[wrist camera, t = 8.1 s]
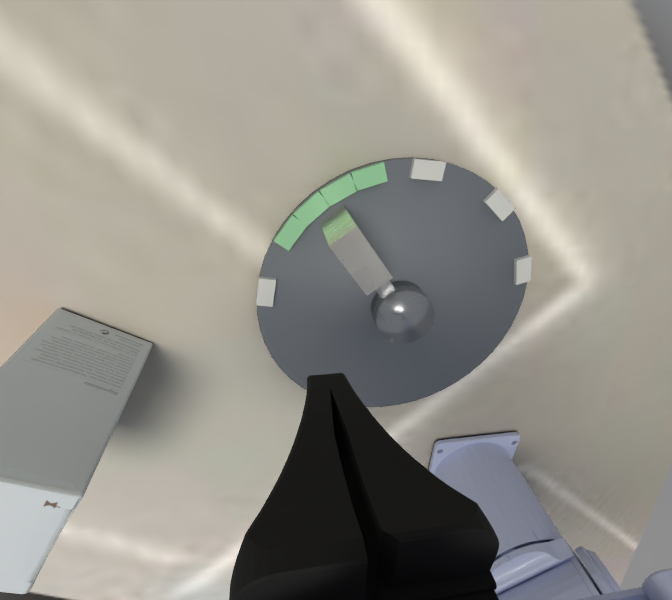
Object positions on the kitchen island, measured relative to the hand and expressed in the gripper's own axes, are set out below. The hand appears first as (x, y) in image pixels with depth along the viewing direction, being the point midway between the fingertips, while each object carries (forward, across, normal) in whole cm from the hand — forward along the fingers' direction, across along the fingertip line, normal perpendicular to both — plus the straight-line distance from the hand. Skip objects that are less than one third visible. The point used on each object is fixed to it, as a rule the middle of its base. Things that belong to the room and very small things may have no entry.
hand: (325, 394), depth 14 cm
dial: (+10, -6, +2) cm, 12 cm away
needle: (+10, -4, 0) cm, 11 cm away
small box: (+11, +14, +6) cm, 19 cm away
